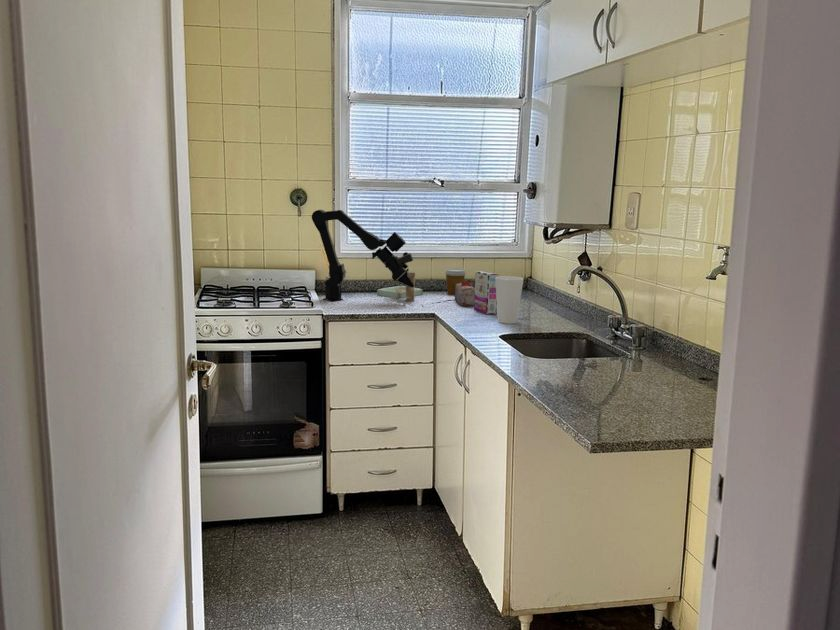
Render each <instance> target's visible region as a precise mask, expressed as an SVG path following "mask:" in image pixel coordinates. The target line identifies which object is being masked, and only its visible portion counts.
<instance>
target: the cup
mask: <svg viewBox="0 0 840 630" xmlns="http://www.w3.org/2000/svg"><path fill="white" fill-rule="evenodd" d="M524 280H525V279H524V277H521V276H515V275H514V276H513V275H500V276H499V275H498V276H497V277H496V278H495V282H496V297H497V322H498V323H500V324H506V325H508V324H516V323H517V321H518V316H519V311H520V310H519V309H520V306H521V303H520V302H521V298H522V291H523V285H524Z"/></svg>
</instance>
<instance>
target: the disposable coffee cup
mask: <svg viewBox="0 0 840 630" xmlns="http://www.w3.org/2000/svg"><path fill="white" fill-rule="evenodd" d="M466 273H467V272H466V269H461V268H447V269H446V270H445V272H444V274H445V278H446V279H445V280H446V291H447V295H450V296H455V286H456V284H459V283H460V282H461V283H463V282H465V276H466Z"/></svg>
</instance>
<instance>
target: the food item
mask: <svg viewBox="0 0 840 630" xmlns="http://www.w3.org/2000/svg"><path fill="white" fill-rule="evenodd" d="M474 295H475V286H474V287H473V284H472V282H468V281H464V282H463V283H461V282H460V283H459V284H456V286H455V295H454V302H456V303H457V305H460V304H461V306H462V307H474Z"/></svg>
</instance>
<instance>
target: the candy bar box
mask: <svg viewBox="0 0 840 630" xmlns="http://www.w3.org/2000/svg"><path fill="white" fill-rule="evenodd" d="M497 276H499V273H495V272H490V271H486V270H476V271H475V277H474V288H475V295H474V306H473V311H475V310H476V311H475V312H478V313H481V314H483V315H496V314H497V315H498V313H497V297H496V282H495V278H496V277H497Z"/></svg>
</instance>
